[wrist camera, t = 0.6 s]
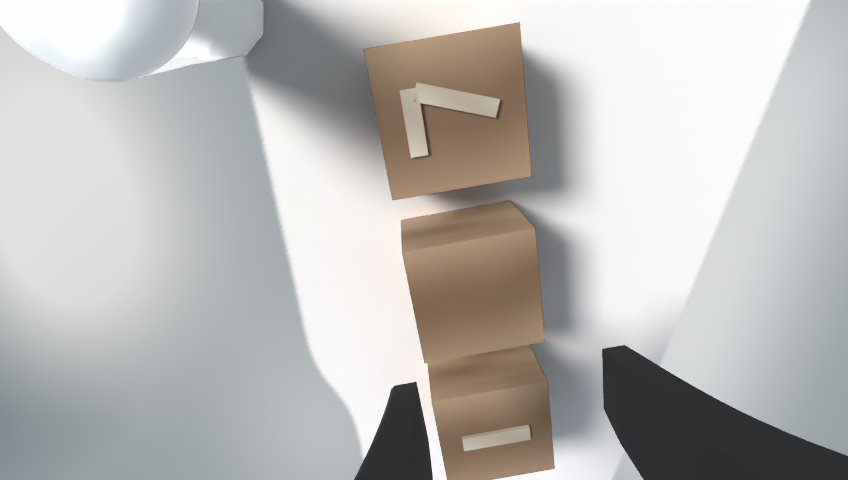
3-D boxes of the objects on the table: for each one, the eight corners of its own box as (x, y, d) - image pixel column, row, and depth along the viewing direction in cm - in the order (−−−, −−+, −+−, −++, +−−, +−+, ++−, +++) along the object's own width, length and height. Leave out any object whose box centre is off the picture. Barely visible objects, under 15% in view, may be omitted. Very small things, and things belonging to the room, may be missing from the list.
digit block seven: (505, 156, 20) (532, 177, 16) (392, 175, 20) (392, 201, 16) (493, 32, 18) (521, 21, 14) (369, 53, 18) (362, 48, 14)
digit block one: (530, 408, 25) (555, 471, 21) (440, 424, 25) (448, 490, 21) (522, 330, 23) (548, 383, 19) (425, 347, 23) (432, 404, 19)
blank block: (519, 296, 22) (544, 341, 18) (419, 314, 22) (424, 363, 18) (509, 199, 20) (534, 228, 17) (400, 219, 20) (401, 252, 17)
